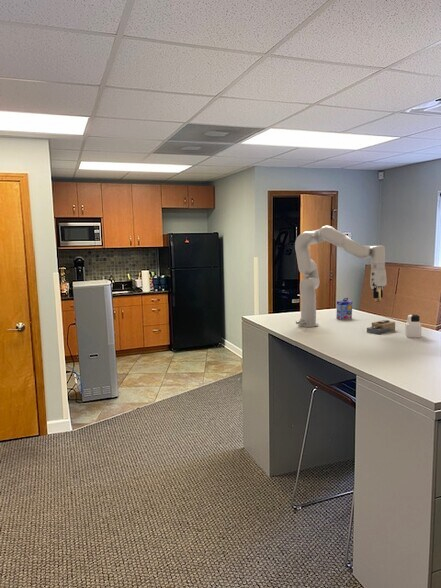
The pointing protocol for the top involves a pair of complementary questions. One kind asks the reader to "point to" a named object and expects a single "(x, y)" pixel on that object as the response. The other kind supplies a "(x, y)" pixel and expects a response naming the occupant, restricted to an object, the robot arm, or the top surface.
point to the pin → (379, 294)
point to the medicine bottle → (413, 326)
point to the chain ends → (381, 327)
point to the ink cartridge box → (344, 309)
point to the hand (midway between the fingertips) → (377, 297)
